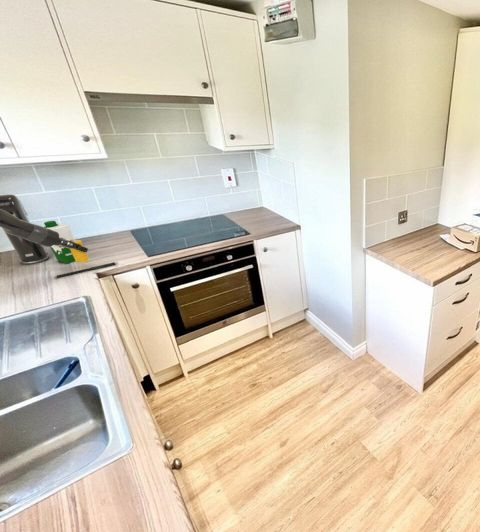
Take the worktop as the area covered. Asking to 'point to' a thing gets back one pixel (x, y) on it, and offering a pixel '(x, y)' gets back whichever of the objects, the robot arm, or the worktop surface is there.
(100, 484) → the worktop surface
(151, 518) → the worktop surface
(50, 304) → the worktop surface
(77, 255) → the mustard bottle
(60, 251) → the milk carton
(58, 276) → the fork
